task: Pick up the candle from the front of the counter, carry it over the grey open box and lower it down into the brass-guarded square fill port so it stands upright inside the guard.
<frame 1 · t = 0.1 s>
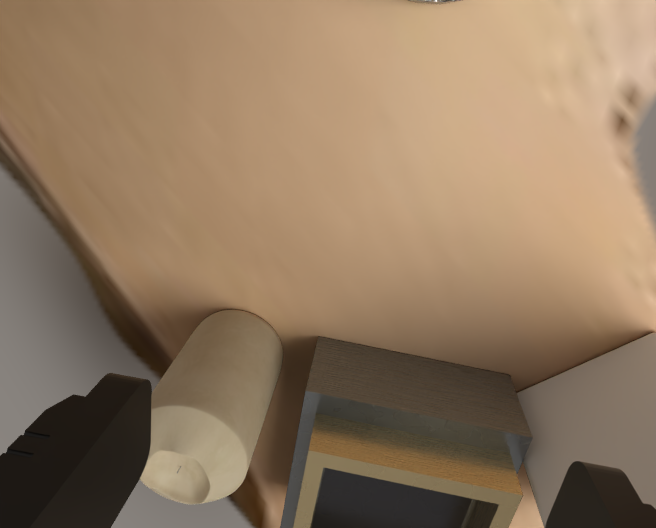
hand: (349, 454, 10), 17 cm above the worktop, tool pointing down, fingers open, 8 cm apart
tall white carton: (606, 417, 29), on the worktop
candle: (239, 347, 30), on the worktop
grey open box: (390, 436, 31), on the worktop
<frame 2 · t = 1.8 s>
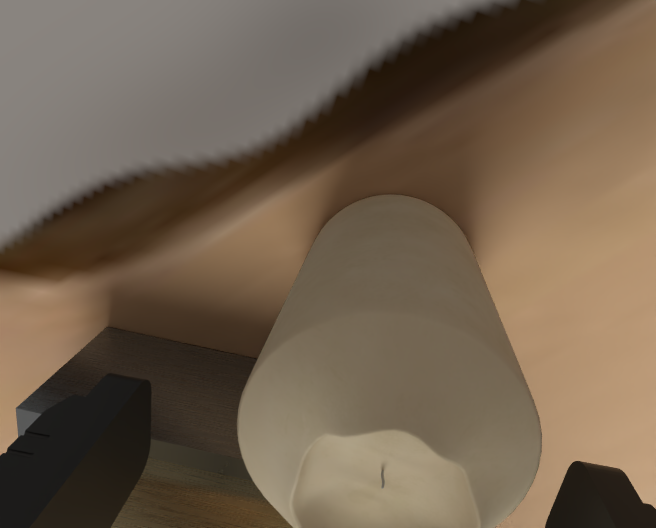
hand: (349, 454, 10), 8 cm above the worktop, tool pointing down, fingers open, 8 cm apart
candle: (389, 269, 17), on the worktop
grey open box: (244, 471, 21), on the worktop
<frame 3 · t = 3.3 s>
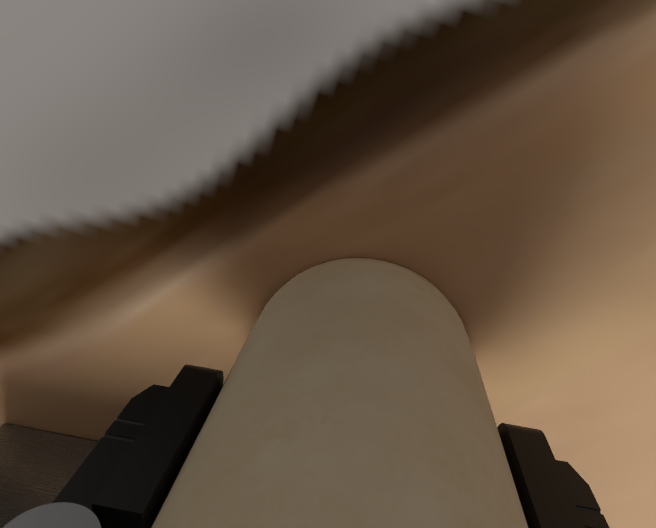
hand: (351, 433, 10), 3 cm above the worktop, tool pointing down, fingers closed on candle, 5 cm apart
candle: (359, 350, 13), on the worktop, touching gripper
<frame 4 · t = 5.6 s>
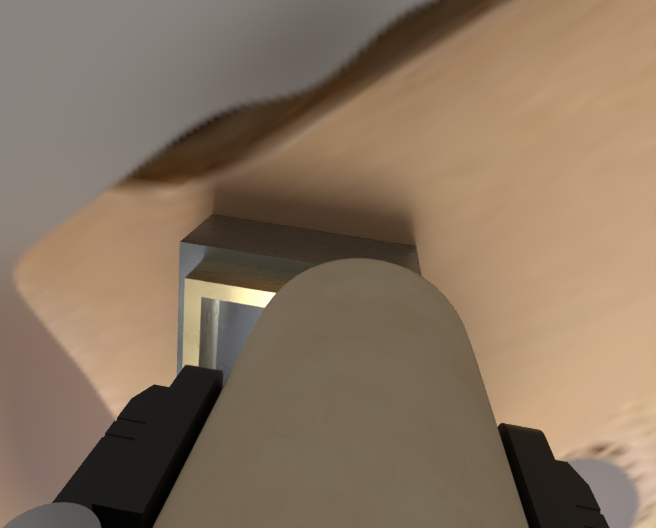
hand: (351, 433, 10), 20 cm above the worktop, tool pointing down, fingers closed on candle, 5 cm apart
candle: (360, 350, 13), point 16 cm above the worktop, touching gripper
grey open box: (302, 314, 31), on the worktop
when the fingers open (9 cm above the worktop, at t = 7.8 s): candle drops 1 cm, resting on grey open box.
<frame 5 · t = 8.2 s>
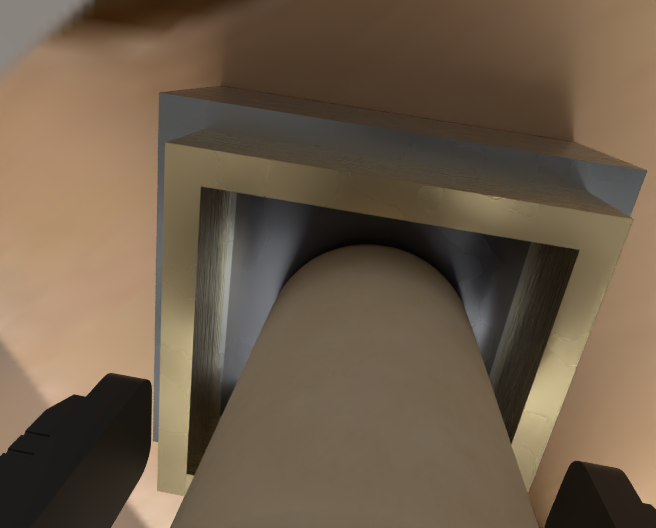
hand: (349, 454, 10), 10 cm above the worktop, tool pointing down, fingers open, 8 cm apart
candle: (368, 330, 14), point 5 cm above the worktop, touching grey open box
grey open box: (366, 264, 19), on the worktop
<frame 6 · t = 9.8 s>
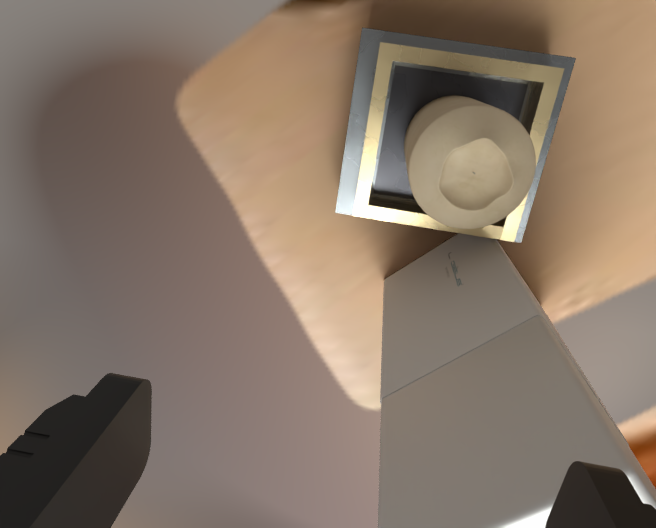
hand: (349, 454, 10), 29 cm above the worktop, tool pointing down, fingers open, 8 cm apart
tall white carton: (461, 292, 40), on the worktop
candle: (449, 142, 31), point 5 cm above the worktop, touching grey open box
grey open box: (438, 131, 35), on the worktop
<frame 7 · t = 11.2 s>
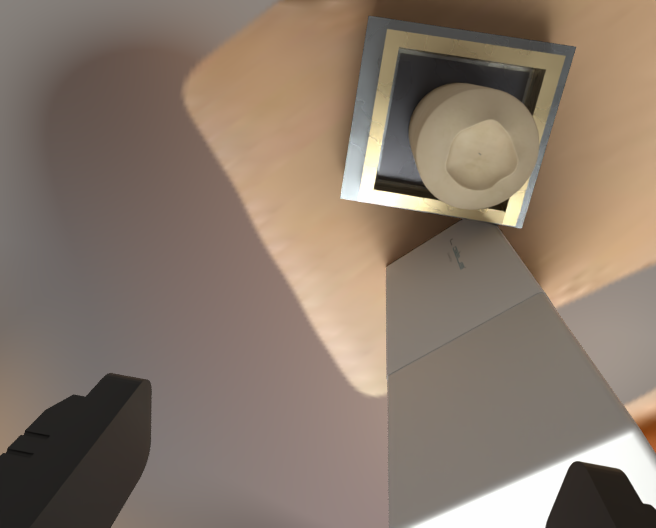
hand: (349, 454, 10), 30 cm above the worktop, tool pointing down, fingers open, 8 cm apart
tall white carton: (461, 279, 40), on the worktop
candle: (452, 129, 31), point 5 cm above the worktop, touching grey open box
grey open box: (441, 120, 36), on the worktop
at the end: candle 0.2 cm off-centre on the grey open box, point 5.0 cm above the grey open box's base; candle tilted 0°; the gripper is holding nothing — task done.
